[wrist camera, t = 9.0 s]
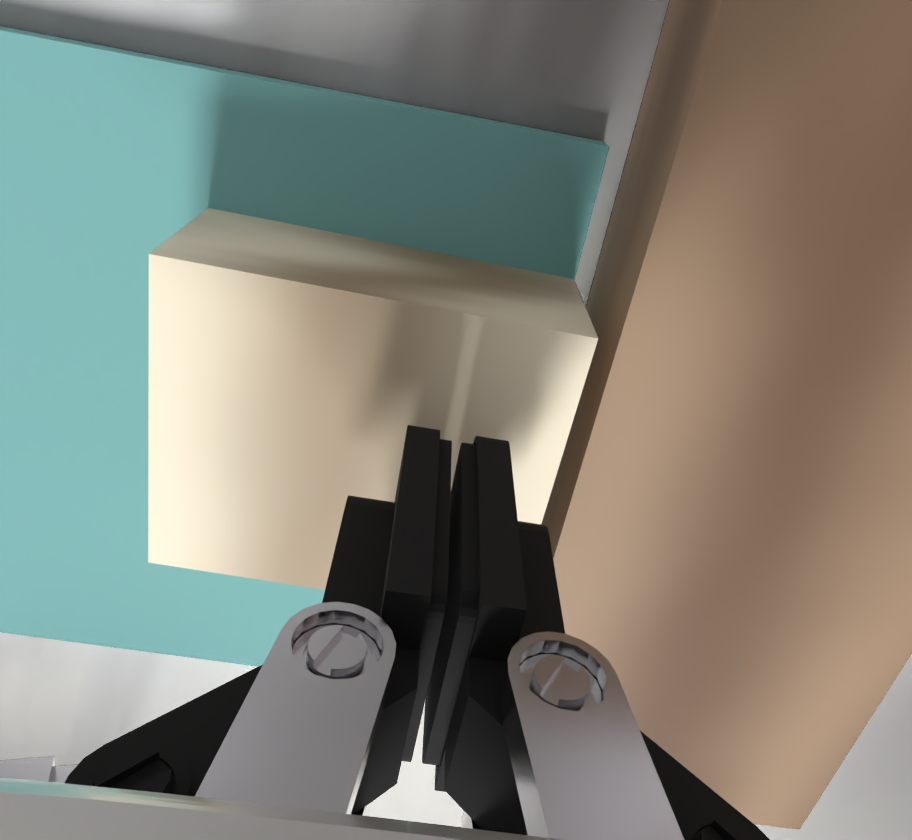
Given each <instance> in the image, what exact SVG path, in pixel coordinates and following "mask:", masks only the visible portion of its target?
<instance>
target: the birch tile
mask: <svg viewBox="0 0 912 840" xmlns="http://www.w3.org/2000/svg"><path fill="white" fill-rule="evenodd" d="M597 341H598V337H597V334H596V332H595V329H594V327H593V324H592V322H591V319H590V317H589V315H588V312H587V310H586V307H585V305H584V302H583V300H582V297H581V295H580V292H579V290H578V288H577V285H576V283H575V280H574V279H571V278H566V277H561V276H556V275H550V274H545V273H540V272H535V271H530V270H525V269H520V268H514V267H509V266H504V265H499V264H494V263H489V262H484V261H479V260H473V259H468V258H463V257H458V256H453V255H448V254H443V253H437V252H432V251H427V250H422V249H417V248H412V247H407V246H401V245H396V244H391V243H386V242H381V241H376V240H371V239H366V238H360V237H355V236H350V235H345V234H340V233H335V232H330V231H324V230H319V229H314V228H309V227H304V226H299V225H294V224H289V223H283V222H278V221H273V220H268V219H263V218H258V217H253V216H247V215H242V214H237V213H232V212H227V211H222V210H217V209H212V208H207V209H206V210H204V211H203V212H202V213H201V214H199V215H198V216H197V217H195V218H194V219H193V220H192V221H190V222H189V223H188V224H186V225H185V226H184V227H183V228H181V229H180V230H179V231H177V232H176V233H175V234H174V235H172V236H171V237H170V238H168V239H167V240H166V241H165V242H163V243H162V244H161V245H159V246H158V247H157V248H156V249H154V250H153V251H152V252H150V253H149V396H148V563H155V564H161V565H168V566H174V567H181V568H187V569H193V570H200V571H206V572H213V573H219V574H226V575H232V576H239V577H245V578H252V579H258V580H265V581H271V582H277V583H284V584H290V585H297V586H303V587H310V588H316V589H323V590H325V588H326V584H327V580H328V576H329V572H330V567H331V563H332V559H333V555H334V551H335V546H336V542H337V538H338V534H339V530H340V526H341V521H342V517H343V513H344V509H345V505H346V501H347V497H348V495H349V496H356V497H363V498H369V499H376V500H383V501H389V502H395V496H396V490H397V484H398V478H399V472H400V466H401V460H402V454H403V448H404V442H405V436H406V431H407V425H412V426H418V427H424V428H431V429H437V430H440V439H444V440H451V441H452V459H451V488H452V484H453V479H454V474H455V469H456V464H457V460H458V455H459V450H460V446H461V443H462V442H463V443H470V444H473V442H474V439H475V437H476V436H481V437H487V438H493V439H500V440H506V441H509V444H510V452H511V462H512V471H513V481H514V491H515V500H516V510H517V519H518V521H521V522H528V523H535V524H542V520H543V517H544V514H545V511H546V507H547V504H548V501H549V497H550V494H551V491H552V488H553V484H554V481H555V478H556V475H557V471H558V468H559V465H560V462H561V458H562V455H563V452H564V449H565V445H566V442H567V439H568V436H569V432H570V429H571V426H572V423H573V419H574V416H575V413H576V410H577V406H578V403H579V400H580V397H581V393H582V390H583V387H584V384H585V380H586V377H587V374H588V371H589V367H590V364H591V361H592V358H593V354H594V351H595V348H596V345H597Z"/></svg>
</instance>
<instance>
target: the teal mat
mask: <svg viewBox="0 0 912 840" xmlns="http://www.w3.org/2000/svg"><path fill="white" fill-rule="evenodd" d="M608 150H609V146H608V145H607V144H606V143H605V142H604V141H599V140H593V139H588V138H583V137H578V136H573V135H567V134H562V133H557V132H552V131H546V130H541V129H536V128H531V127H526V126H520V125H515V124H510V123H505V122H499V121H494V120H489V119H484V118H479V117H473V116H468V115H463V114H458V113H452V112H447V111H442V110H437V109H432V108H426V107H421V106H416V105H411V104H405V103H400V102H395V101H390V100H385V99H379V98H374V97H369V96H364V95H358V94H353V93H348V92H343V91H338V90H332V89H327V88H322V87H317V86H312V85H306V84H301V83H296V82H291V81H285V80H280V79H275V78H270V77H265V76H259V75H254V74H249V73H244V72H238V71H233V70H228V69H223V68H218V67H212V66H207V65H202V64H197V63H191V62H186V61H181V60H176V59H171V58H165V57H160V56H155V55H150V54H144V53H139V52H134V51H129V50H124V49H118V48H113V47H108V46H103V45H97V44H92V43H87V42H82V41H77V40H71V39H66V38H61V37H56V36H51V35H45V34H40V33H35V32H30V31H24V30H19V29H14V28H9V27H4V26H0V632H3V633H11V634H18V635H26V636H33V637H41V638H48V639H56V640H63V641H71V642H78V643H86V644H93V645H101V646H108V647H116V648H124V649H131V650H139V651H146V652H154V653H161V654H169V655H176V656H184V657H191V658H199V659H206V660H214V661H222V662H229V663H237V664H244V665H252V666H261V665H263V664H264V662H265V660H266V658H267V656H268V654H269V652H270V650H271V648H272V646H273V644H274V642H275V640H276V639H277V637H278V635H279V633H280V631H281V629H282V628H283V626H284V625H285V624H286V622H287V621H288V620H289V619H290V617H292V616H293V615H295V614H296V613H298V612H299V611H301V610H302V609H304V608H307V607H310V606H313V605H316V604H319V603H322V601H323V597H324V592H325V590H323V589H316V588H310V587H303V586H297V585H290V584H284V583H277V582H271V581H265V580H258V579H252V578H245V577H239V576H232V575H226V574H219V573H213V572H206V571H200V570H193V569H187V568H181V567H174V566H168V565H161V564H155V563H148V396H149V253H150V252H152V251H153V250H154V249H156V248H157V247H158V246H159V245H161V244H162V243H163V242H165V241H166V240H167V239H168V238H170V237H171V236H172V235H174V234H175V233H176V232H177V231H179V230H180V229H181V228H183V227H184V226H185V225H186V224H188V223H189V222H190V221H192V220H193V219H194V218H195V217H197V216H198V215H199V214H201V213H202V212H203V211H204V210H206V209H207V208H212V209H217V210H222V211H227V212H232V213H237V214H242V215H247V216H253V217H258V218H263V219H268V220H273V221H278V222H283V223H289V224H294V225H299V226H304V227H309V228H314V229H319V230H324V231H330V232H335V233H340V234H345V235H350V236H355V237H360V238H366V239H371V240H376V241H381V242H386V243H391V244H396V245H401V246H407V247H412V248H417V249H422V250H427V251H432V252H437V253H443V254H448V255H453V256H458V257H463V258H468V259H473V260H479V261H484V262H489V263H494V264H499V265H504V266H509V267H514V268H520V269H525V270H530V271H535V272H540V273H545V274H550V275H556V276H561V277H566V278H571V279H574V280H575V276H576V272H577V268H578V264H579V261H580V257H581V253H582V249H583V245H584V241H585V238H586V234H587V230H588V226H589V222H590V218H591V215H592V211H593V207H594V203H595V199H596V195H597V192H598V188H599V184H600V180H601V176H602V172H603V169H604V165H605V161H606V157H607V153H608Z"/></svg>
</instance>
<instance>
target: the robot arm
mask: <svg viewBox="0 0 912 840" xmlns="http://www.w3.org/2000/svg"><path fill="white" fill-rule="evenodd" d="M451 459H452V441H451V440H444V439H440V430H437V429H431V428H424V427H418V426H412V425H407V431H406V436H405V442H404V448H403V454H402V460H401V466H400V472H399V478H398V484H397V490H396V496H395V502H389V501H383V500H376V499H369V498H363V497H356V496H349V495H348V497H347V501H346V505H345V509H344V513H343V517H342V521H341V526H340V530H339V534H338V538H337V542H336V546H335V551H334V555H333V559H332V563H331V567H330V572H329V576H328V580H327V584H326V588H325V592H324V597H323V601H322V603H319V604H316V605H313V606H310V607H307V608H304V609H302V610H301V611H299V612H298V613H296V614H295V615H293V616H292V617H290V619H289V620H288V621H287V622H286V624H285V625H284V626H283V628H282V629H281V631H280V633H279V635H278V637H277V639H276V640H275V642H274V644H273V646H272V648H271V650H270V652H269V654H268V656H267V658H266V660H265V662H264V664H263V665H261V666H259V667H257V668H255V669H253V670H251V671H249V672H247V673H245V674H243V675H241V676H239V677H237V678H235V679H233V680H231V681H229V682H227V683H225V684H223V685H221V686H219V687H217V688H216V689H214V690H212V691H210V692H208V693H206V694H204V695H202V696H200V697H198V698H196V699H194V700H192V701H190V702H188V703H186V704H184V705H182V706H180V707H178V708H176V709H174V710H172V711H170V712H168V713H166V714H164V715H162V716H160V717H158V718H156V719H154V720H152V721H150V722H148V723H146V724H144V725H142V726H141V727H139V728H137V729H135V730H133V731H131V732H129V733H127V734H125V735H123V736H121V737H119V738H117V739H115V740H113V741H111V742H109V743H107V744H105V745H103V746H102V747H100V748H99V749H97V750H96V751H94V752H93V753H91V754H90V755H88V756H87V757H85V758H84V759H83V760H82V761H81V762H80V763H79V764H73V765H61V766H55V758H54V756H49V757H36V758H24V759H11V760H0V840H770V839H769V838H768V837H767V836H766V835H765V834H764V833H763V832H762V831H761V830H760V829H759V828H758V827H757V826H756V825H754V824H753V823H752V822H751V821H750V820H748V819H747V818H746V817H745V816H744V815H742V814H741V813H740V812H739V811H737V810H736V809H735V808H734V807H733V806H731V805H730V804H729V803H728V802H727V801H725V800H724V799H723V798H722V797H720V796H719V795H718V794H717V793H716V792H714V791H713V790H712V789H711V788H710V787H708V786H707V785H706V784H705V783H703V782H702V781H701V780H700V779H699V778H697V777H696V776H695V775H694V774H693V773H691V772H690V771H689V770H688V769H686V768H685V767H684V766H683V765H682V764H680V763H679V762H678V761H677V760H676V759H674V758H673V757H672V756H671V755H669V754H668V753H667V752H666V751H665V750H663V749H662V748H661V747H660V746H659V745H657V744H656V743H655V742H654V741H652V740H651V739H650V738H649V737H648V736H646V735H645V734H644V733H643V732H642V731H640V730H639V727H638V725H637V722H636V720H635V717H634V715H633V713H632V710H631V708H630V705H629V703H628V700H627V698H626V695H625V693H624V690H623V688H622V686H621V683H620V681H619V678H618V676H617V674H616V672H615V670H614V669H613V667H612V665H611V664H610V662H609V661H608V660H607V659H606V658H605V657H604V656H603V655H602V654H601V653H600V652H599V651H598V650H597V649H596V648H594V647H593V646H591V645H589V644H588V643H586V642H585V641H583V640H581V639H578V638H576V637H573V636H570V635H568V634H565V629H564V623H563V616H562V610H561V604H560V598H559V592H558V586H557V580H556V573H555V567H554V561H553V555H552V549H551V543H550V536H549V532H548V528H547V527H546V526H545V525H541V524H535V523H528V522H521V521H518V519H517V510H516V500H515V491H514V481H513V471H512V462H511V452H510V444H509V441H506V440H500V439H493V438H487V437H481V436H476V437H475V439H474V442H473V444H470V443H463V442H462V443H461V446H460V450H459V455H458V460H457V464H456V469H455V474H454V479H453V484H452V488H451ZM425 698H426V700H425ZM424 703H425V718H424V736H423V754H422V762H423V763H424V764H432V765H436V770H435V790H437V791H445V792H447V793H448V794H449V795H450V796H451V797H452V798H453V799H454V800H455V801H456V803H457V804H458V805H459V806H460V807H461V808H462V809H463V810H464V811H463V815H462V827H454V826H445V825H437V824H428V823H420V822H411V821H403V820H394V819H386V818H377V817H369V816H365V811H366V806H367V805H368V804H369V803H371V802H372V801H373V800H375V799H376V798H377V797H379V796H380V795H382V794H383V793H384V792H386V791H387V790H388V789H390V788H391V787H393V786H394V785H395V784H397V780H398V775H399V770H400V766H401V761H408V762H411V760H412V756H413V751H414V747H415V742H416V738H417V734H418V729H419V725H420V720H421V716H422V711H423V707H424Z"/></svg>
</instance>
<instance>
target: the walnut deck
mask: <svg viewBox="0 0 912 840" xmlns="http://www.w3.org/2000/svg"><path fill="white" fill-rule="evenodd" d="M586 310H587V312H588V315H589V317H590V319H591V322H592V324H593V327H594V329H595V332H596V334H597V337H598V341H597V345H596V348H595V351H594V354H593V358H592V361H591V364H590V367H589V371H588V374H587V377H586V380H585V384H584V387H583V390H582V393H581V397H580V400H579V403H578V406H577V410H576V413H575V416H574V419H573V423H572V426H571V429H570V432H569V436H568V439H567V442H566V445H565V449H564V452H563V455H562V458H561V462H560V465H559V468H558V471H557V475H556V478H555V481H554V484H553V488H552V491H551V494H550V497H549V501H548V504H547V507H546V511H545V514H544V517H543V520H542V524H541V525H545V526H546V527H547V528H548V532H549V536H550V543H551V549H552V555H553V561H554V567H555V573H556V580H557V586H558V592H559V598H560V604H561V610H562V616H563V623H564V629H565V634H568V635H570V636H573V637H576V638H578V639H581V640H583V641H585V642H586V643H588V644H589V645H591V646H593V647H594V648H596V649H597V650H598V651H599V652H600V653H601V654H602V655H603V656H604V657H605V658H606V659H607V660H608V661H609V662H610V664H611V665H612V667H613V669H614V670H615V672H616V674H617V676H618V678H619V681H620V683H621V686H622V688H623V690H624V693H625V695H626V698H627V700H628V703H629V705H630V708H631V710H632V713H633V715H634V717H635V720H636V722H637V725H638V727H639V730H640V731H642V732H643V733H644V734H645V735H646V736H648V737H649V738H650V739H651V740H652V741H654V742H655V743H656V744H657V745H659V746H660V747H661V748H662V749H663V750H665V751H666V752H667V753H668V754H669V755H671V756H672V757H673V758H674V759H676V760H677V761H678V762H679V763H680V764H682V765H683V766H684V767H685V768H686V769H688V770H689V771H690V772H691V773H693V774H694V775H695V776H696V777H697V778H699V779H700V780H701V781H702V782H703V783H705V784H706V785H707V786H708V787H710V788H711V789H712V790H713V791H714V792H716V793H717V794H718V795H719V796H720V797H722V798H723V799H724V800H725V801H727V802H728V803H729V804H730V805H731V806H733V807H734V808H735V809H736V810H737V811H739V812H740V813H741V814H742V815H744V816H745V817H746V818H747V819H748V820H750V821H751V822H752V823H753V824H760V825H768V826H776V827H784V828H792V829H800V828H801V826H802V825H803V823H804V821H805V820H806V818H807V817H808V815H809V814H810V812H811V810H812V809H813V807H814V806H815V804H816V803H817V801H818V799H819V798H820V796H821V795H822V793H823V792H824V790H825V789H826V787H827V785H828V784H829V782H830V781H831V779H832V778H833V776H834V774H835V773H836V771H837V770H838V768H839V767H840V765H841V763H842V762H843V760H844V759H845V757H846V756H847V754H848V752H849V751H850V749H851V748H852V746H853V745H854V743H855V741H856V740H857V738H858V737H859V735H860V734H861V732H862V730H863V729H864V727H865V726H866V724H867V723H868V721H869V719H870V718H871V716H872V715H873V713H874V712H875V710H876V708H877V707H878V705H879V704H880V702H881V701H882V699H883V698H884V696H885V694H886V693H887V691H888V690H889V688H890V687H891V685H892V683H893V682H894V680H895V679H896V677H897V676H898V674H899V672H900V671H901V669H902V668H903V666H904V665H905V663H906V661H907V660H908V658H909V657H910V655H911V654H912V0H670V2H669V6H668V9H667V13H666V17H665V20H664V24H663V28H662V31H661V35H660V39H659V42H658V46H657V50H656V53H655V57H654V60H653V64H652V68H651V71H650V75H649V79H648V82H647V86H646V90H645V93H644V97H643V101H642V104H641V108H640V112H639V115H638V119H637V123H636V126H635V130H634V134H633V137H632V141H631V145H630V148H629V152H628V155H627V159H626V163H625V166H624V170H623V174H622V177H621V181H620V185H619V188H618V192H617V196H616V199H615V203H614V207H613V210H612V214H611V218H610V221H609V225H608V229H607V232H606V236H605V240H604V243H603V247H602V250H601V254H600V258H599V261H598V265H597V269H596V272H595V276H594V280H593V283H592V287H591V291H590V294H589V298H588V302H587V305H586Z"/></svg>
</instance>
